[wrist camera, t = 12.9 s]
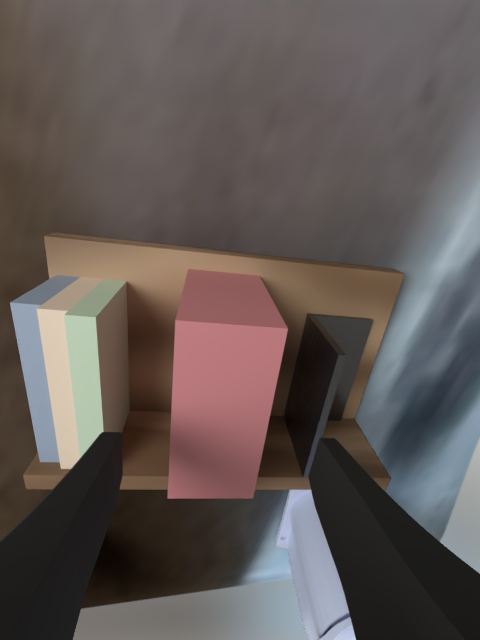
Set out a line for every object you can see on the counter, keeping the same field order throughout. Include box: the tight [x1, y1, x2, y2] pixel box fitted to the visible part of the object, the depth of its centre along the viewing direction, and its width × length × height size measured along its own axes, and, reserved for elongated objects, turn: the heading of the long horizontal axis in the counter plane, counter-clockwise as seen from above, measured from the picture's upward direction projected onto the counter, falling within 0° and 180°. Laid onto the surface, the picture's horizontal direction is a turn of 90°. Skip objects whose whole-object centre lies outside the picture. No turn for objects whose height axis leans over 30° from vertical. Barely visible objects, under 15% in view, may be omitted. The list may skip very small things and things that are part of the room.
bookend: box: [284, 313, 373, 478], centre depth 18 cm, size 8×4×5 cm, turn 173°
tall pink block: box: [168, 269, 288, 498], centre depth 16 cm, size 9×4×7 cm, turn 173°
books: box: [10, 275, 130, 469], centre depth 16 cm, size 9×4×5 cm, turn 173°
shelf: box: [23, 233, 404, 490], centre depth 17 cm, size 12×20×6 cm, turn 83°
